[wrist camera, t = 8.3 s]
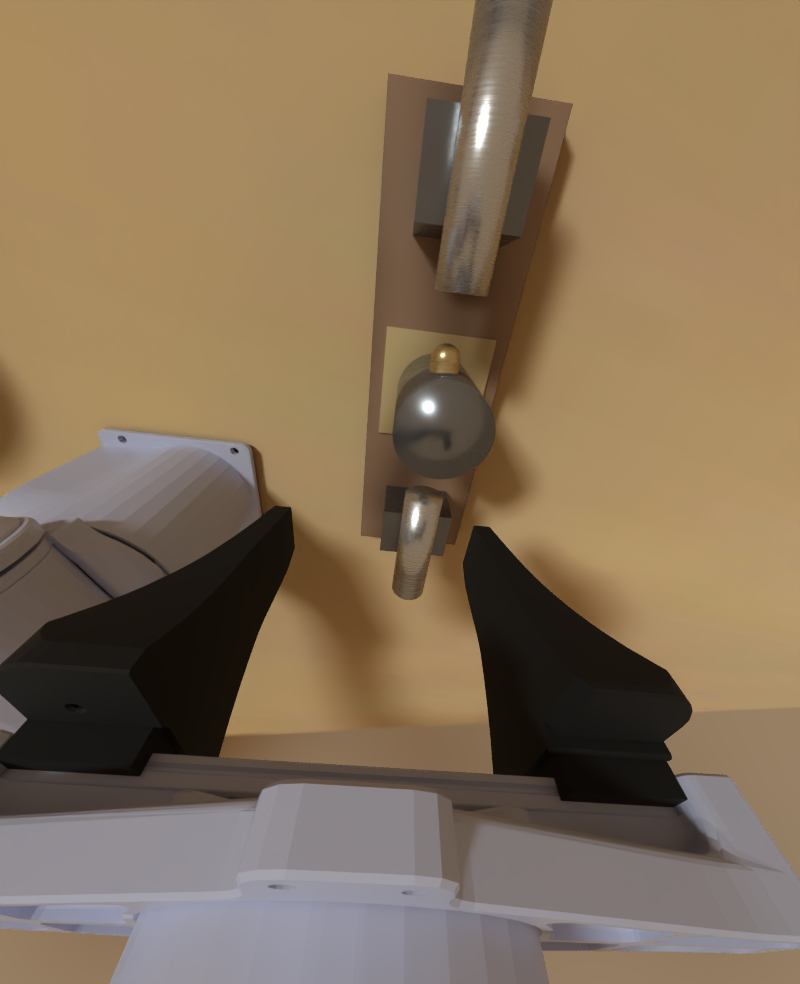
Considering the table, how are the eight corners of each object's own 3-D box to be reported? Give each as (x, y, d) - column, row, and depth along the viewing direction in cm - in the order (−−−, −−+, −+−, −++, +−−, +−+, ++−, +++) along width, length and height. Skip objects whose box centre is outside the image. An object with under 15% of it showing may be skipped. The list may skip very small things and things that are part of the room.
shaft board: (362, 525, 24) (360, 537, 23) (389, 91, 13) (388, 69, 11) (452, 534, 24) (455, 546, 23) (559, 119, 13) (575, 101, 12)
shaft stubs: (380, 542, 23) (375, 597, 19) (431, 58, 11) (446, -84, 7) (433, 547, 24) (439, 602, 19) (538, 77, 12) (616, -51, 7)
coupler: (395, 440, 19) (390, 496, 14) (399, 329, 16) (395, 349, 11) (461, 444, 19) (480, 501, 14) (479, 333, 16) (512, 356, 11)
